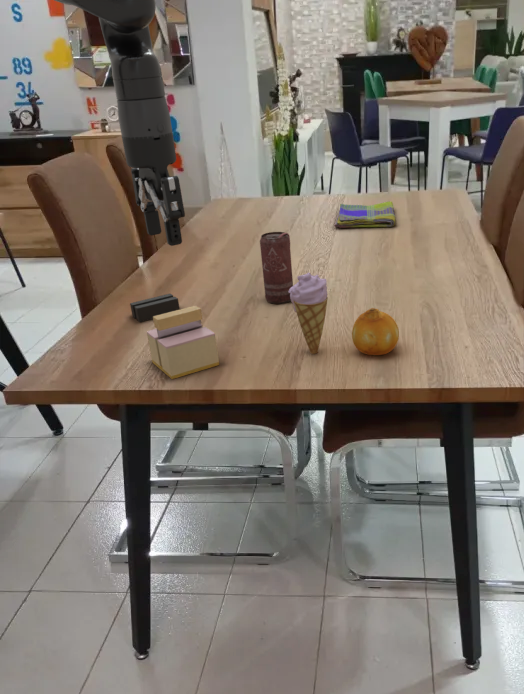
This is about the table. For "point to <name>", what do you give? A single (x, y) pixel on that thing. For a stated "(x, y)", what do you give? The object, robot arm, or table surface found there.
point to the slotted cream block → (184, 352)
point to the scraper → (178, 321)
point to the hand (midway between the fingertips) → (164, 239)
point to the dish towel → (366, 215)
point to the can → (276, 266)
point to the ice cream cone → (310, 307)
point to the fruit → (375, 332)
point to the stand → (154, 307)
